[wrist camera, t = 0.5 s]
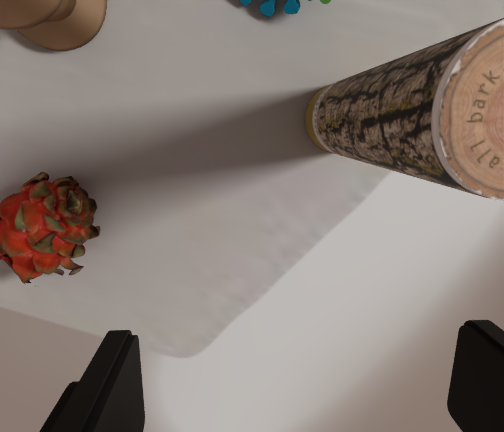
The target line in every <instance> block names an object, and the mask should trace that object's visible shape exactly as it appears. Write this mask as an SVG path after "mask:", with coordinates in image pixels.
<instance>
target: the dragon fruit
mask: <svg viewBox="0 0 504 432" xmlns="http://www.w3.org/2000/svg"><path fill="white" fill-rule="evenodd" d="M48 179H49V175H48V174H46V173H45V172H41V173H40V174H38V175H37V176H36V177H34V178H32V179H31V180H29V181H28V182H26V183H25V184H24V185H23V186H22V191H21V192H20V193H18V194H12V195H10V196H9V197H7V198H5V199H4V200H3V201H2V202H1V203H0V259H3V260H4V261H5V262H6V263H7V264H8V265H9V266H10V267H11V268H12V269H13V271H14V272H15V273H16V274H17V276H19V278H20V279H21V281H22V282H23V283H31V282H30V281H29V280H31V279H34V278H36V277H38V276H40V275H42V274H43V273H45V274H51V273H53V272H54V273H58V274H60V275H63V274H64V271H63V270H61V269H57V267H58V266H59V264H60V265H62V266H63V267H64V268H65V269H69V270H72V271H71V272H70V273H69V275H73V274H75V273H77V272H79V271H80V270H81V269H82V268H83V267H84V266H79V265H77V264H76V263H74V262H73V261H72V260H71V258H75V257H79V256H83V255H84V254H85V247H84V246H83V243H84V242H86V240H87V239H92V238H94V237H97V236H99V234H100V226H97V227H95V226H93V225H92V223H93V220H94V218H93V215H94V213H95V211H96V209H97V205H96V202H95V200H93V199H91V198H88V193H87V192H86V191H85V190H84V189H82V188H81V187H78V186H79V183H78V182H77V181H76V180H75V179H74V178H73V177H72V176H68V177H65V178H59V179H56V180H55V181H54V182H53V183H49V181H48Z"/></svg>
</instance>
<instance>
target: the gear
mask: <svg viewBox="0 0 504 432" xmlns="http://www.w3.org/2000/svg"><path fill="white" fill-rule="evenodd" d="M240 1H241V3H242V4H243V5H244V6H247V5H249V3H250V2H251V0H240ZM275 1H276V0H264V1H263V3H262V5H261V6H260V12H261V13H263V14H264V15H266V16H269V17H271V16H272V15H273V13H274V11H275V8H276V5H275ZM309 1H311V0H309ZM320 1H321V2H322V3H323V4H327V3H329V2H330V1H331V0H320ZM299 8H300V2H299V0H287V2H286V4H285V6H284V11H285V13H286V14H296V13H297V12H298V10H299Z"/></svg>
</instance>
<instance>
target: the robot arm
mask: <svg viewBox="0 0 504 432" xmlns="http://www.w3.org/2000/svg"><path fill="white" fill-rule="evenodd" d="M447 406H448V411H449V413H450V415H451V417H452V418H453V419H454V421H455V422H456V423H457V425H458V426H459V427H460V429H461V430H462V431H463V432H504V331H503V330H502V329H500V328H499V327H498V326H497V325H495V324H494V323H493V322H491V321H489V320H469V321H466V322H465V323H464V326H461V327H460V328H459V332H458V339H457V345H456V351H455V357H454V364H453V370H452V376H451V382H450V388H449V394H448V400H447ZM144 423H145V411H144V400H143V387H142V374H141V362H140V350H139V339H138V336H137V335H132V333H131V331H130V330H114V331H108V333H107V334H106V336H105V338H104V339H103V341H102V343H101V345H100V346H99V348H98V350H97V352H96V353H95V355H94V357H93V358H92V361H91V362H90V364H89V366H88V367H87V369H86V371H85V372H84V374H83V376H82V377H81V379H80V381H79V382H72V383H70V384H69V385H68V386H67V388H66V389H65V391H64V393H63V394H62V396H61V397H60V399H59V401H58V402H57V404H56V405H55V407H54V409H53V410H52V412H51V414H50V415H49V417H48V418H47V420H46V422H45V423H44V425H43V427H42V428H41V430H40V432H143V429H144Z"/></svg>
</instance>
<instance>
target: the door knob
mask: <svg viewBox="0 0 504 432" xmlns="http://www.w3.org/2000/svg"><path fill="white" fill-rule="evenodd" d="M106 8H107V0H0V28H2V29H9V30H18V32H20V33H21V34H22V35H23V36H24V37H26V38H27V39H29V40H30V41H32V42H34V43H36V44H38V45H41V46H43V47H46V48H48V49H53V50H59V51H68V50H73V49H77V48H80V47H82V46H84V45H85V44H87V43H88V42H90V41H91V40H92V39H93V38H94V37H95V36H96V35H97V33H98V32H99V30H100V28H101V27H102V24H103V22H104V19H105V15H106Z"/></svg>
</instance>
